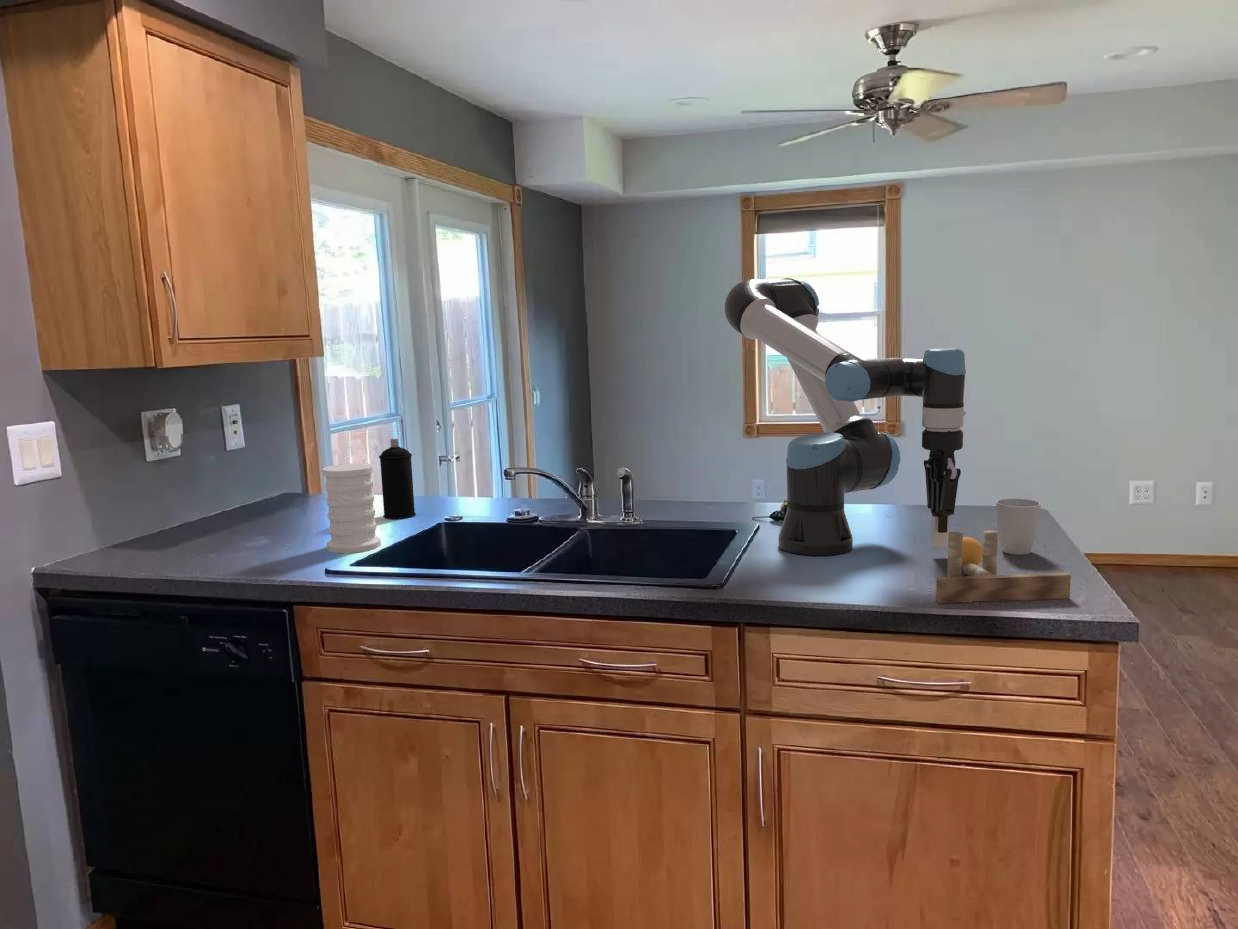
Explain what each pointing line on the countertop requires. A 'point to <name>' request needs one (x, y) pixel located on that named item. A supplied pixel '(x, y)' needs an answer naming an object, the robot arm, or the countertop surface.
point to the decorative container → (350, 508)
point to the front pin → (975, 570)
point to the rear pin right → (954, 554)
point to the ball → (971, 551)
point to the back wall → (1003, 587)
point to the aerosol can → (397, 482)
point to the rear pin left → (990, 551)
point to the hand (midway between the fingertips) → (939, 547)
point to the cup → (1017, 524)
